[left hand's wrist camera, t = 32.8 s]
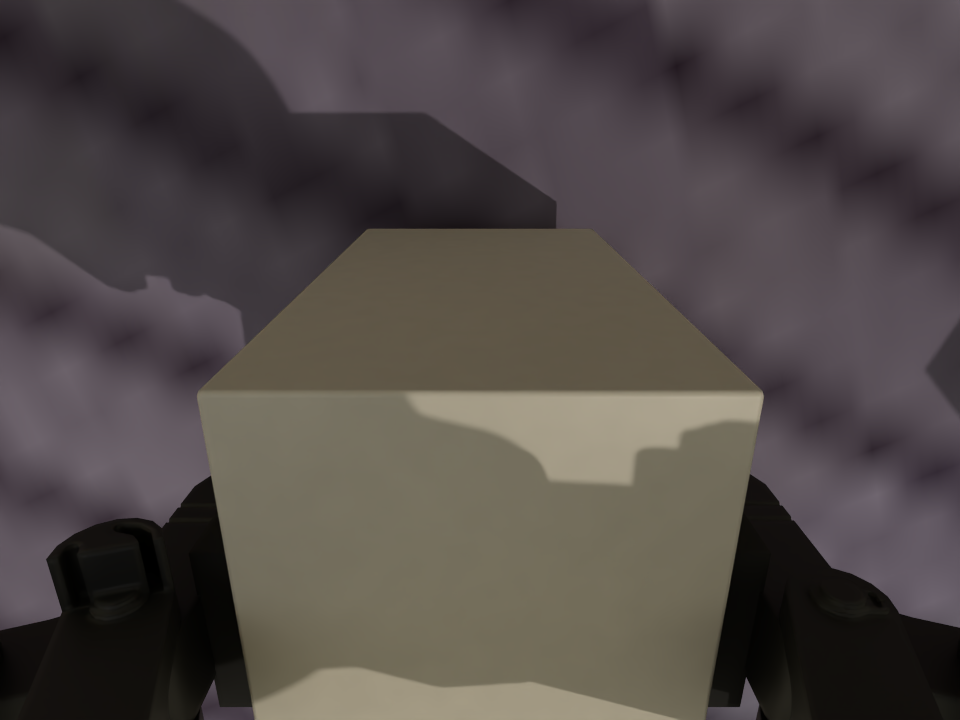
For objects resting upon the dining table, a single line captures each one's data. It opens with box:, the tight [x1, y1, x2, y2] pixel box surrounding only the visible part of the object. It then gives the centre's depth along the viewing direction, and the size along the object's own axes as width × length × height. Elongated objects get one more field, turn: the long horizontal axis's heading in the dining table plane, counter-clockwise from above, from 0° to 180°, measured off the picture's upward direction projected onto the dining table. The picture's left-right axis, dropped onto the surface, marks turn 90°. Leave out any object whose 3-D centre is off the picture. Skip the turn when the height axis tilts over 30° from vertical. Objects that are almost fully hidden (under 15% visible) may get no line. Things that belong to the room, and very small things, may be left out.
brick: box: [197, 229, 764, 720], centre depth 13 cm, size 6×8×11 cm
